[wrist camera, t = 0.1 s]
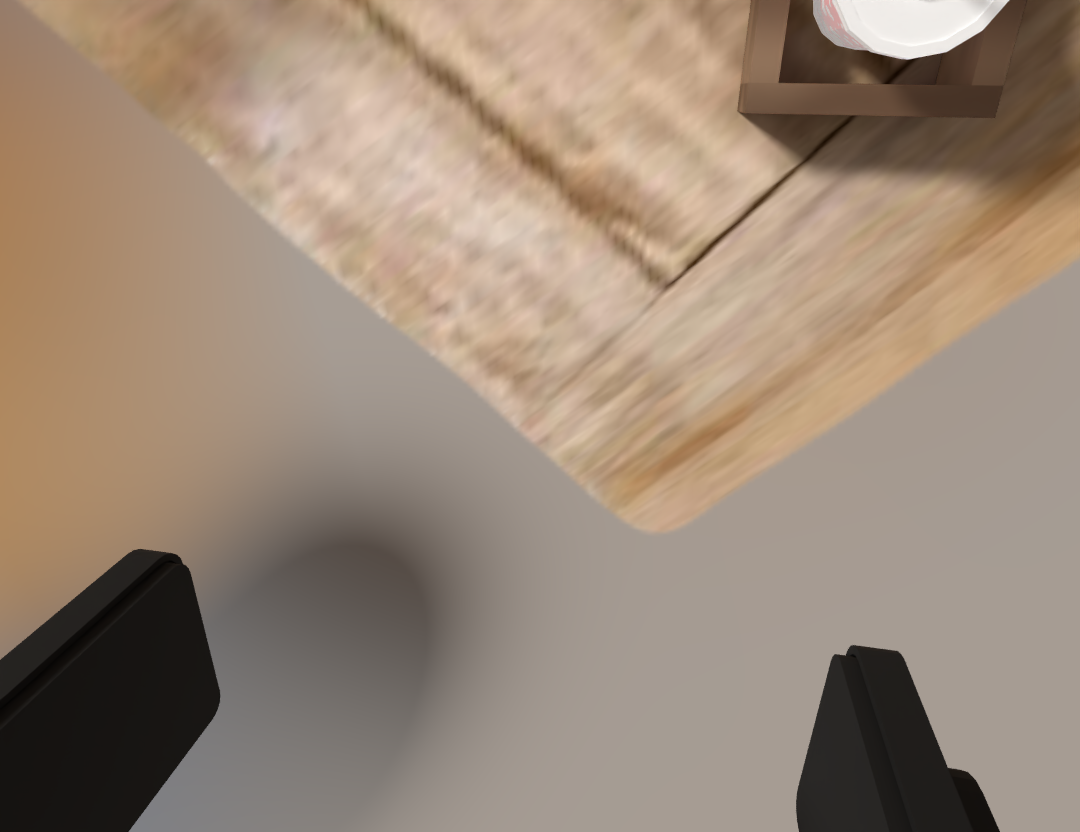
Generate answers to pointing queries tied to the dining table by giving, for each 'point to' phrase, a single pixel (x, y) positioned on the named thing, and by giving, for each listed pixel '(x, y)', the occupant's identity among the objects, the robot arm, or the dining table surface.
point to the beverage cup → (903, 24)
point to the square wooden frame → (959, 91)
